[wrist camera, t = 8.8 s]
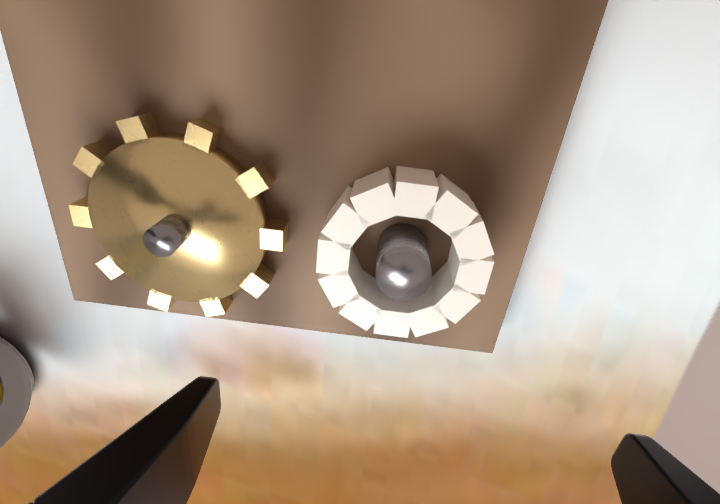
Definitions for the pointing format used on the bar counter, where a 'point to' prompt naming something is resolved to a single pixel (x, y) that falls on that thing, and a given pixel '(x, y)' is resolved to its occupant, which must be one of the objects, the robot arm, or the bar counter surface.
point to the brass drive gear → (179, 214)
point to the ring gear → (417, 200)
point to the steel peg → (403, 262)
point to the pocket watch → (13, 390)
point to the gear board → (312, 120)
